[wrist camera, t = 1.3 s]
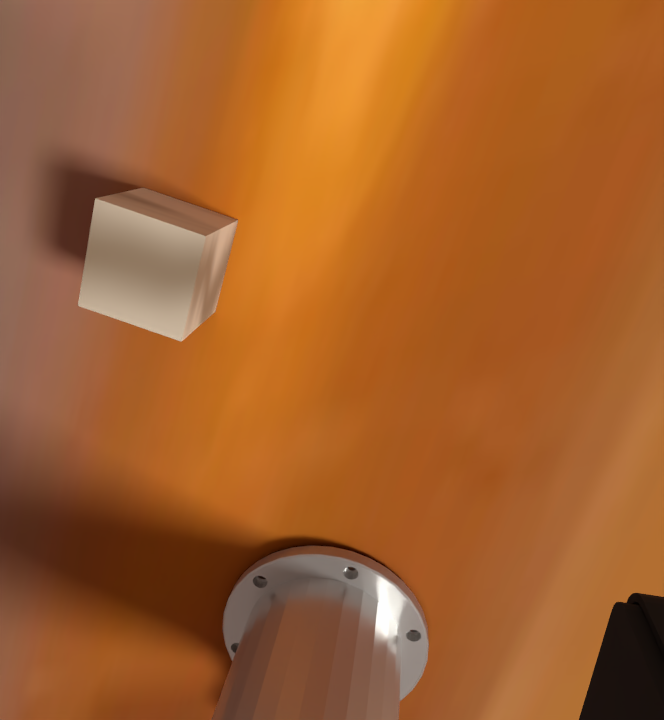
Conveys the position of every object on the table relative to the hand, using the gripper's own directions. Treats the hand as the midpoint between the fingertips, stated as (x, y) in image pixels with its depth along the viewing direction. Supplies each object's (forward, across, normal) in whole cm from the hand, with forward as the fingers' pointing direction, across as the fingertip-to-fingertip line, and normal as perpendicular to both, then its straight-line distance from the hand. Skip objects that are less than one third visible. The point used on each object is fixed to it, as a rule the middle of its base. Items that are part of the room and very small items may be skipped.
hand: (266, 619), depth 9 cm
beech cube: (+24, +10, 0) cm, 26 cm away
